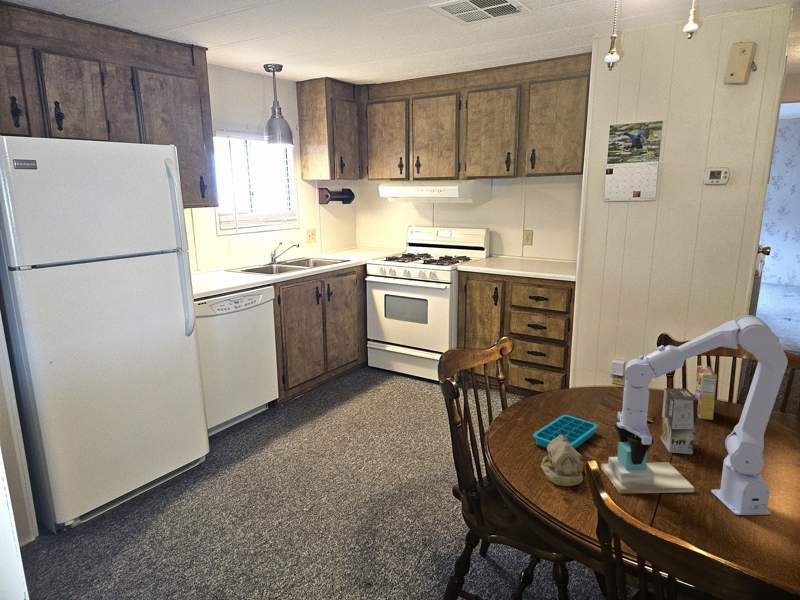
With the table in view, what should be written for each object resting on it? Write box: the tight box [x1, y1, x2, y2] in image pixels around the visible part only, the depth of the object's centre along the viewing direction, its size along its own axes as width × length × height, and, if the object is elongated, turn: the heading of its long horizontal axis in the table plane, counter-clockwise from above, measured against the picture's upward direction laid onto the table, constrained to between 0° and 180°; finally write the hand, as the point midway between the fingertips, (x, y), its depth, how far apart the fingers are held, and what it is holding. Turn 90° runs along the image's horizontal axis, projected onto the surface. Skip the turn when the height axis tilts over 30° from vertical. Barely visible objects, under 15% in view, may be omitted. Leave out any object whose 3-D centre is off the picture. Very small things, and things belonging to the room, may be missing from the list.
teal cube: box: [617, 441, 648, 470], centre depth 127 cm, size 5×5×5 cm
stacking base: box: [600, 456, 695, 494], centre depth 128 cm, size 12×18×4 cm, turn 90°
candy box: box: [694, 365, 718, 421], centre depth 164 cm, size 9×4×15 cm, turn 160°
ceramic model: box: [540, 435, 584, 487], centre depth 132 cm, size 14×11×10 cm
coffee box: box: [659, 387, 699, 455], centre depth 144 cm, size 9×6×16 cm
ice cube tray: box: [532, 414, 599, 450], centre depth 151 cm, size 12×20×3 cm, turn 135°
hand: (631, 457), depth 128 cm, fingers open, 5 cm apart
